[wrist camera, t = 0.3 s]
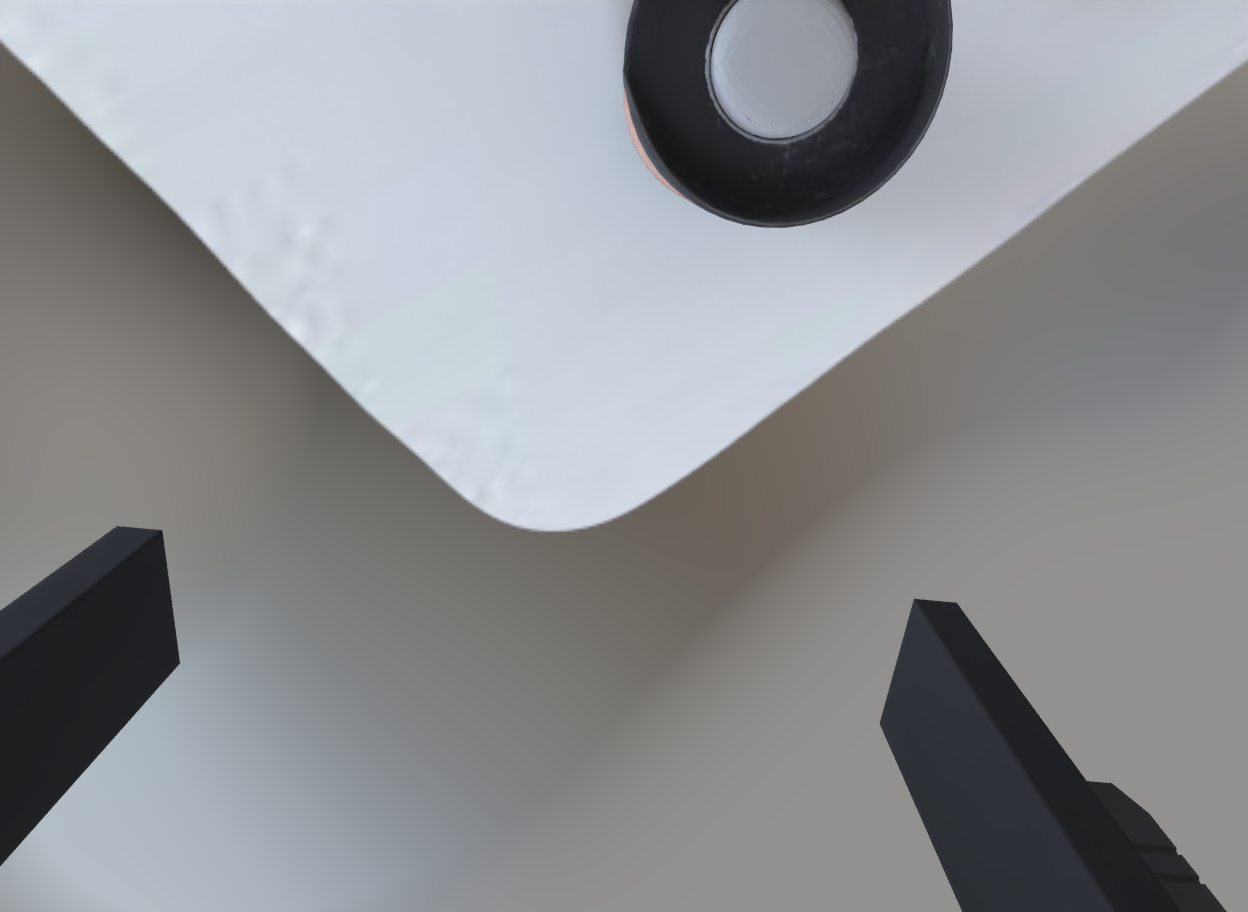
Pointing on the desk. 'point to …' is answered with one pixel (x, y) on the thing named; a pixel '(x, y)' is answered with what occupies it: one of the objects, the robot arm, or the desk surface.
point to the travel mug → (782, 99)
